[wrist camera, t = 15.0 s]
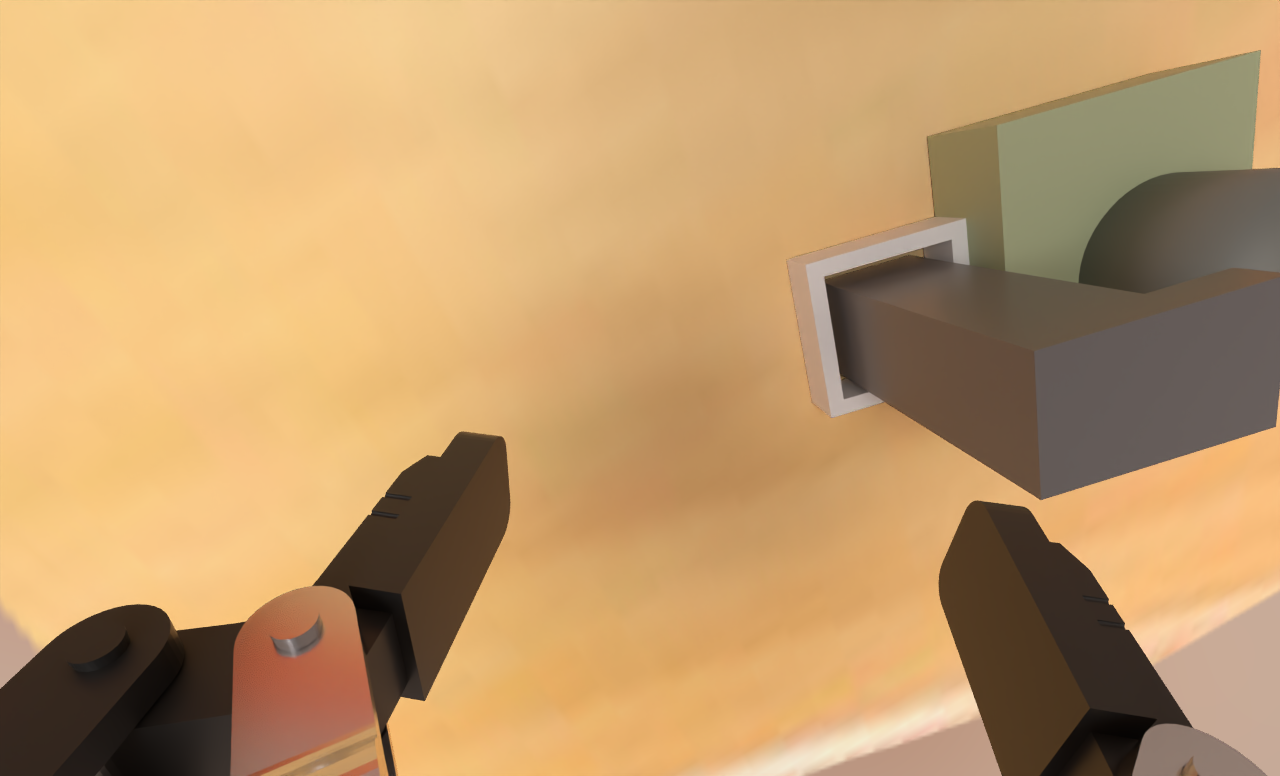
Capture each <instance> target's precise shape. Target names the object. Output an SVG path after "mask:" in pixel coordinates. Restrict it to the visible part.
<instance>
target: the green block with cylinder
mask: <svg viewBox="0 0 1280 776" xmlns="http://www.w3.org/2000/svg"><path fill="white" fill-rule="evenodd" d="M1260 54H1261V50H1259V51H1255V52H1250V53H1245V54H1240V55H1236V56H1231V57H1226V58H1221V59H1217V60H1212V61H1207V62H1202V63H1198V64H1193V65H1188V66H1183V67H1179V68H1174V69H1169V70H1164V71H1160V72H1155V73H1150V74H1147V75H1143V76H1140V77H1136V78H1133V79H1129V80H1126V81H1122V82H1119V83H1115V84H1112V85H1108V86H1104V87H1101V88H1097V89H1094V90H1090V91H1087V92H1083V93H1080V94H1076V95H1073V96H1069V97H1066V98H1062V99H1059V100H1055V101H1052V102H1048V103H1045V104H1041V105H1038V106H1034V107H1031V108H1027V109H1023V110H1020V111H1016V112H1013V113H1009V114H1006V115H1002V116H999V117H995V118H992V119H988V120H985V121H981V122H978V123H974V124H971V125H967V126H964V127H960V128H957V129H953V130H950V131H946V132H943V133H939V134H935V135H932V136H928V137H927V140H928V150H929V161H930V171H931V182H932V192H933V202H934V213H935V217H932V218H929V219H925V220H922V221H918V222H915V223H911V224H908V225H905V226H901V227H898V228H894V229H891V230H887V231H884V232H880V233H877V234H873V235H870V236H867V237H863V238H860V239H856V240H853V241H849V242H846V243H842V244H839V245H835V246H832V247H829V248H825V249H822V250H818V251H815V252H811V253H808V254H804V255H801V256H798V257H794V258H791V259H787V266H788V271H789V277H790V282H791V288H792V293H793V299H794V304H795V310H796V316H797V321H798V327H799V332H800V338H801V343H802V349H803V354H804V360H805V365H806V371H807V377H808V382H809V388H810V393H811V399H812V403H813V404H815V405H816V406H817V407H818V408H820V409H821V410H822V411H823V412H825V413H826V414H827V415H828V416H830V417H831V418H833V417H837V416H840V415H843V414H847V413H850V412H853V411H857V410H860V409H863V408H867V407H870V406H873V405H876V404H880V403H883V402H884V401H882V400H881V399H879V398H878V397H876V396H874V395H873V394H871V393H870V392H868V391H867V390H865V389H863V388H862V387H860V386H859V385H857V384H855V383H854V382H852V381H851V380H849V379H847V378H846V379H843V380H841V379H840V373H839V366H838V360H837V354H836V348H835V342H834V335H833V329H832V323H831V317H830V311H829V304H828V298H827V292H826V286H825V279H824V277H825V276H828V275H831V274H835V273H838V272H842V271H845V270H849V269H852V268H855V267H859V266H862V265H866V264H869V263H873V262H876V261H879V260H883V259H886V258H890V257H893V256H897V255H900V254H903V253H907V252H910V251H914V250H917V249H921V248H923V251H924V258H929V259H935V260H941V261H947V262H953V263H959V264H965V265H971V266H977V267H984V268H990V269H996V270H1002V271H1008V272H1014V273H1020V274H1026V275H1032V276H1038V277H1044V278H1051V279H1057V280H1063V281H1069V282H1075V283H1081V284H1087V285H1093V286H1099V287H1105V288H1111V289H1117V290H1124V291H1130V292H1136V293H1142V294H1146V293H1149V292H1153V291H1156V290H1159V289H1163V288H1166V287H1169V286H1173V285H1176V284H1179V283H1183V282H1186V281H1189V280H1193V279H1196V278H1199V277H1203V276H1206V275H1209V274H1213V273H1216V272H1219V271H1223V270H1226V269H1229V268H1241V269H1251V270H1261V271H1270V272H1280V168H1269V169H1252V163H1253V149H1254V135H1255V122H1256V108H1257V94H1258V81H1259V67H1260Z"/></svg>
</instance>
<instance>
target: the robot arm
mask: <svg viewBox="0 0 1280 776" xmlns="http://www.w3.org/2000/svg"><path fill="white" fill-rule="evenodd" d="M509 514H510V491H509V478H508V465H507V452H506V443H505V440H504V438H503V437H501V436H493V435H486V434H478V433H471V432H459V433H458V434H457V435H456V436H455V438H454V439H453V440H452V442H451V443H450V445H449V446H448V447H447V449H446V450H445V452H444V453H443V454H442V456H441V457H436V456H429V455H427V456H426V457H424V458H422V459H421V460H419V461H418V462H416V463H415V464H413V465H412V466H410V467H409V468H407V469H406V470H404V471H403V472H402V473H401V474H400V475H399V476H398V478H397V479H396V480H395V482H394V483H393V484H392V485H391V487H390V488H389V489H388V490H387V492H386V495H385V497H382V498H381V499H380V501H379V502H378V503H377V504H376V506H375V507H374V508H373V510H372V514H371V515H368V516H367V517H366V519H365V520H364V521H363V522H362V524H361V525H360V526H359V527H358V529H357V530H356V531H355V533H354V534H353V535H352V536H351V538H350V539H349V540H348V541H347V543H346V544H345V545H344V547H343V548H342V549H341V550H340V552H339V553H338V554H337V556H336V557H335V558H334V559H333V561H332V562H331V563H330V564H329V566H328V567H327V568H326V570H325V571H324V572H323V573H322V575H321V576H320V577H319V578H318V580H317V581H316V582H315V583H314V584H313V586H310V587H304V588H300V589H296V590H293V591H290V592H287V593H285V594H282V595H280V596H278V597H276V598H274V599H273V600H271V601H269V602H268V603H266V604H265V605H263V606H262V607H261V608H260V609H258V610H257V611H256V612H255V613H254V614H253V615H252V616H251V617H250V618H249V619H248V620H247V621H246V622H241V623H235V624H227V625H219V626H211V627H202V628H194V629H186V630H178V631H176V630H175V628H174V626H173V624H172V622H171V621H170V619H169V617H168V615H167V614H166V613H165V612H164V611H163V610H162V609H159V608H157V607H155V606H150V605H140V604H136V605H126V606H121V607H117V608H113V609H110V610H106V611H103V612H101V613H98V614H96V615H93V616H91V617H89V618H87V619H85V620H83V621H81V622H79V623H77V624H75V625H74V626H72V627H70V628H69V629H67V630H66V631H64V632H63V633H62V634H60V635H59V636H57V637H56V638H55V639H54V640H53V641H51V642H50V643H49V644H48V645H47V646H46V647H45V648H44V649H42V650H41V651H40V652H39V653H38V654H37V655H36V656H35V657H34V658H33V659H32V660H31V661H30V662H29V663H28V664H26V666H25V667H23V668H22V669H21V670H20V671H19V672H18V673H17V674H16V675H15V676H14V677H12V678H11V679H10V680H9V681H8V682H7V683H6V684H5V685H4V686H3V687H2V688H1V689H0V776H398V772H397V766H396V761H395V756H394V751H393V746H392V741H391V735H390V730H389V726H388V720H389V718H390V716H391V714H392V712H393V710H394V708H395V706H396V705H397V703H398V701H399V699H400V697H405V698H411V699H416V700H422V701H425V700H426V697H427V695H428V693H429V691H430V689H431V687H432V685H433V683H434V681H435V679H436V677H437V674H438V672H439V670H440V668H441V666H442V664H443V662H444V660H445V658H446V656H447V654H448V651H449V649H450V647H451V645H452V643H453V641H454V639H455V637H456V635H457V633H458V631H459V628H460V626H461V624H462V622H463V620H464V618H465V616H466V614H467V612H468V610H469V608H470V605H471V603H472V601H473V599H474V597H475V595H476V593H477V591H478V589H479V587H480V585H481V583H482V580H483V578H484V576H485V574H486V572H487V570H488V568H489V566H490V564H491V562H492V560H493V557H494V555H495V553H496V551H497V549H498V547H499V545H500V543H501V541H502V539H503V536H504V534H505V531H506V528H507V524H508V520H509ZM939 595H940V600H941V604H942V607H943V610H944V613H945V615H946V618H947V621H948V624H949V627H950V630H951V632H952V635H953V638H954V641H955V644H956V647H957V649H958V652H959V655H960V658H961V661H962V664H963V666H964V669H965V672H966V675H967V678H968V681H969V683H970V686H971V689H972V692H973V695H974V698H975V700H976V703H977V706H978V709H979V712H980V715H981V717H982V720H983V723H984V726H985V729H986V732H987V734H988V737H989V740H990V743H991V746H992V749H993V751H994V754H995V757H996V760H997V763H998V766H999V768H1000V771H1001V774H1002V776H1267V775H1266V774H1265V773H1264V772H1263V771H1262V770H1261V769H1259V768H1258V767H1257V766H1256V765H1255V764H1254V763H1252V762H1251V761H1250V760H1249V759H1248V758H1246V757H1245V756H1243V755H1242V754H1241V753H1240V752H1238V751H1237V750H1235V749H1234V748H1232V747H1231V746H1229V745H1227V744H1226V743H1224V742H1222V741H1220V740H1219V739H1216V738H1215V737H1213V736H1211V735H1209V734H1207V733H1204V732H1202V731H1200V730H1197V729H1194V728H1193V727H1192V726H1191V724H1190V722H1189V721H1188V720H1187V718H1186V716H1185V715H1184V713H1183V712H1182V710H1181V709H1180V707H1179V706H1178V704H1177V703H1176V701H1175V699H1174V698H1173V696H1172V695H1171V693H1170V692H1169V690H1168V689H1167V687H1166V686H1165V684H1164V683H1163V681H1162V680H1161V678H1160V677H1159V675H1158V673H1157V672H1156V670H1155V669H1154V667H1153V666H1152V664H1151V663H1150V661H1149V660H1148V658H1147V657H1146V655H1145V654H1144V652H1143V651H1142V649H1141V647H1140V646H1139V644H1138V643H1137V641H1136V640H1135V638H1134V637H1133V635H1132V634H1131V632H1130V631H1129V630H1125V627H1124V625H1125V623H1124V621H1123V620H1122V618H1121V617H1120V615H1119V614H1118V612H1117V611H1116V609H1115V608H1114V606H1113V605H1109V603H1108V600H1109V599H1108V597H1107V596H1106V594H1105V592H1104V591H1103V589H1102V588H1101V586H1100V585H1099V583H1098V582H1097V580H1096V579H1095V577H1094V576H1093V574H1092V573H1091V571H1090V570H1089V569H1088V568H1087V567H1086V566H1085V565H1084V564H1082V563H1081V562H1080V561H1079V560H1078V559H1077V558H1076V557H1075V556H1073V555H1072V554H1071V553H1070V552H1069V551H1068V550H1067V549H1066V548H1064V547H1063V546H1062V545H1061V544H1060V543H1053V542H1049V540H1048V539H1047V537H1046V535H1045V534H1044V532H1043V530H1042V529H1041V527H1040V526H1039V524H1038V522H1037V521H1036V519H1035V517H1034V516H1033V514H1032V513H1031V511H1029V510H1028V509H1027V508H1025V507H1021V506H1014V505H1006V504H998V503H991V502H983V501H973V502H971V503H970V504H969V506H968V507H967V509H966V511H965V513H964V515H963V517H962V520H961V522H960V524H959V526H958V529H957V531H956V533H955V536H954V538H953V540H952V542H951V545H950V547H949V549H948V552H947V554H946V556H945V558H944V561H943V563H942V566H941V569H940V574H939Z"/></svg>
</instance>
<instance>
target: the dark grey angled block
mask: <svg viewBox="0 0 1280 776" xmlns="http://www.w3.org/2000/svg"><path fill="white" fill-rule="evenodd" d="M825 286H826V292H827V298H828V304H829V311H830V317H831V323H832V329H833V335H834V342H835V348H836V354H837V360H838V366H839V373H840V374H841V375H843V376H844V377H846V378H847V379H849V380H851V381H852V382H854V383H855V384H857V385H859V386H860V387H862V388H863V389H865V390H867V391H868V392H870V393H871V394H873V395H874V396H876V397H878V398H879V399H881V400H882V401H884V402H886V403H887V404H889V405H890V406H892V407H894V408H895V409H897V410H898V411H900V412H902V413H903V414H905V415H906V416H908V417H910V418H911V419H913V420H914V421H916V422H918V423H919V424H921V425H922V426H924V427H926V428H927V429H929V430H930V431H932V432H933V433H935V434H937V435H938V436H940V437H941V438H943V439H945V440H946V441H948V442H949V443H951V444H953V445H954V446H956V447H957V448H959V449H961V450H962V451H964V452H965V453H967V454H969V455H970V456H972V457H973V458H975V459H977V460H978V461H980V462H981V463H983V464H984V465H986V466H988V467H989V468H991V469H992V470H994V471H996V472H997V473H999V474H1000V475H1002V476H1004V477H1005V478H1007V479H1008V480H1010V481H1012V482H1013V483H1015V484H1016V485H1018V486H1020V487H1021V488H1023V489H1024V490H1026V491H1028V492H1029V493H1031V494H1032V495H1034V496H1035V497H1037V498H1039V499H1040V500H1043V499H1046V498H1049V497H1052V496H1056V495H1059V494H1062V493H1065V492H1068V491H1072V490H1075V489H1078V488H1081V487H1084V486H1088V485H1091V484H1094V483H1097V482H1100V481H1104V480H1107V479H1110V478H1113V477H1116V476H1120V475H1123V474H1126V473H1129V472H1132V471H1136V470H1139V469H1142V468H1145V467H1148V466H1152V465H1155V464H1158V463H1161V462H1164V461H1168V460H1171V459H1174V458H1177V457H1180V456H1184V455H1187V454H1190V453H1193V452H1196V451H1200V450H1203V449H1206V448H1209V447H1212V446H1216V445H1219V444H1222V443H1225V442H1228V441H1232V440H1235V439H1238V438H1241V437H1244V436H1248V435H1251V434H1254V433H1257V432H1261V431H1264V430H1267V429H1270V428H1273V427H1276V420H1277V410H1278V399H1279V389H1280V272H1270V271H1261V270H1251V269H1241V268H1229V269H1226V270H1223V271H1219V272H1216V273H1213V274H1209V275H1206V276H1203V277H1199V278H1196V279H1193V280H1189V281H1186V282H1183V283H1179V284H1176V285H1173V286H1169V287H1166V288H1163V289H1159V290H1156V291H1153V292H1149V293H1146V294H1142V293H1136V292H1130V291H1124V290H1117V289H1111V288H1105V287H1099V286H1093V285H1087V284H1081V283H1075V282H1069V281H1063V280H1057V279H1051V278H1044V277H1038V276H1032V275H1026V274H1020V273H1014V272H1008V271H1002V270H996V269H990V268H984V267H977V266H971V265H965V264H959V263H953V262H947V261H941V260H935V259H929V258H923V257H917V256H911V255H908V256H904V257H901V258H898V259H894V260H891V261H887V262H884V263H880V264H877V265H874V266H870V267H867V268H863V269H860V270H857V271H853V272H850V273H846V274H843V275H839V276H836V277H833V278H829V279H826V280H825Z"/></svg>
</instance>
